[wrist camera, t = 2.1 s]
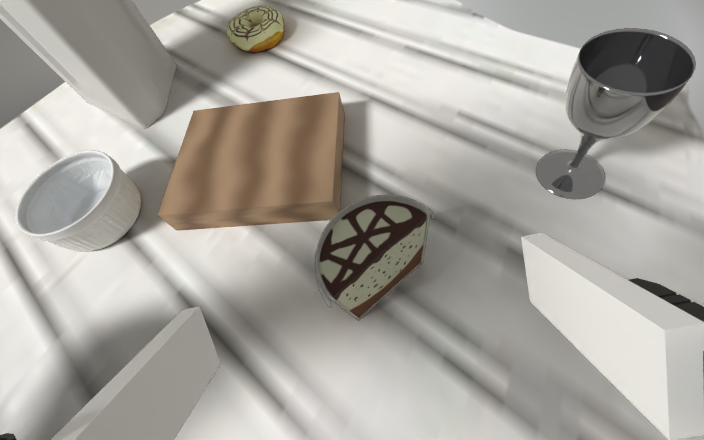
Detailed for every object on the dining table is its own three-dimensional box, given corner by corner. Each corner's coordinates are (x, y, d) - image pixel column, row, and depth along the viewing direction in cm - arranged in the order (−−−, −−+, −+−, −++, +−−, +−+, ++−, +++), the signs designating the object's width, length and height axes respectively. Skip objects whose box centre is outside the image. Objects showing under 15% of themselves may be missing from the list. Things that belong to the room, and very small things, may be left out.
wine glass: (578, 138, 43) (642, 16, 31) (626, 186, 39) (723, 68, 26) (518, 161, 43) (557, 49, 30) (560, 212, 39) (626, 107, 26)
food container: (394, 220, 42) (386, 167, 34) (432, 254, 39) (434, 205, 31) (312, 288, 39) (282, 250, 31) (347, 330, 36) (323, 300, 28)
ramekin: (48, 267, 48) (-5, 245, 42) (78, 188, 55) (36, 159, 49) (139, 251, 46) (98, 225, 41) (158, 172, 53) (125, 140, 47)
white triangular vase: (205, 73, 64) (76, -137, 40) (145, 130, 59) (-45, -73, 35) (142, 52, 72) (2, -135, 48) (84, 100, 66) (-106, -82, 43)
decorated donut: (247, 64, 64) (237, 45, 60) (226, 39, 69) (216, 20, 66) (296, 37, 65) (290, 17, 62) (272, 14, 70) (265, -5, 67)
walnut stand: (176, 230, 47) (157, 215, 44) (207, 130, 56) (193, 110, 53) (339, 219, 43) (332, 201, 40) (344, 113, 52) (338, 92, 49)
